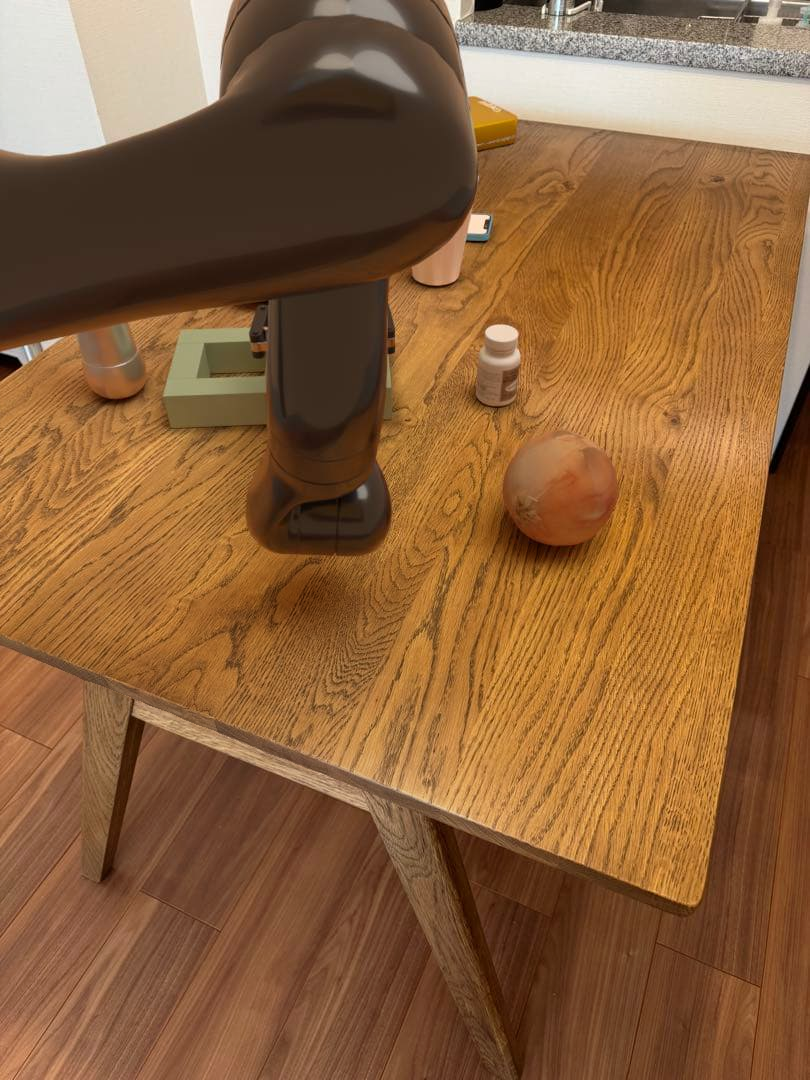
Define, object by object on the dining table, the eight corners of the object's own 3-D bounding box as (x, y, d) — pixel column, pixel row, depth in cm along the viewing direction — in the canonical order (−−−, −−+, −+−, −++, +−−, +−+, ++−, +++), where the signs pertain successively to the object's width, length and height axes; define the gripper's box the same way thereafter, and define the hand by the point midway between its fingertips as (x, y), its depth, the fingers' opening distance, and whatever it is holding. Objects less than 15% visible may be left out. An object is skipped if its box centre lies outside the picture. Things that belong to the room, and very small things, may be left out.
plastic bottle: (134, 366, 89) (83, 187, 75) (162, 392, 86) (114, 208, 71) (80, 387, 86) (16, 204, 72) (107, 414, 83) (45, 228, 68)
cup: (388, 288, 102) (386, 186, 93) (410, 256, 109) (411, 157, 100) (462, 299, 100) (468, 196, 91) (480, 265, 107) (487, 166, 98)
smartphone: (394, 210, 118) (493, 214, 116) (394, 217, 119) (492, 221, 117) (384, 230, 113) (488, 235, 111) (385, 238, 114) (488, 243, 112)
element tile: (520, 142, 141) (522, 113, 138) (450, 158, 136) (451, 128, 132) (474, 119, 150) (475, 91, 147) (406, 132, 145) (406, 104, 142)
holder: (392, 419, 82) (391, 387, 79) (170, 428, 81) (162, 396, 78) (386, 353, 91) (385, 322, 88) (187, 360, 90) (180, 329, 87)
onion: (477, 540, 69) (485, 452, 62) (529, 480, 75) (541, 392, 68) (577, 586, 65) (598, 497, 58) (624, 518, 71) (648, 429, 64)
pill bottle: (510, 411, 83) (518, 347, 77) (470, 403, 84) (475, 339, 78) (520, 389, 86) (527, 325, 80) (481, 381, 87) (486, 318, 81)
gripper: (403, 342, 67) (393, 255, 78) (233, 348, 66) (249, 259, 78) (403, 414, 72) (394, 323, 84) (246, 420, 71) (259, 327, 83)
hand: (324, 292), depth 81 cm, fingers open, 6 cm apart
